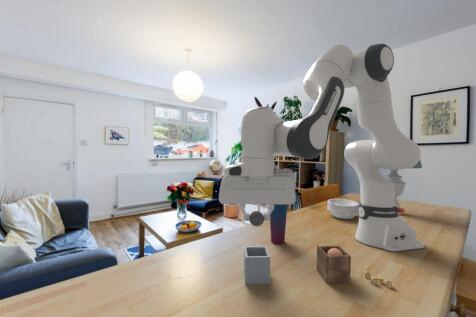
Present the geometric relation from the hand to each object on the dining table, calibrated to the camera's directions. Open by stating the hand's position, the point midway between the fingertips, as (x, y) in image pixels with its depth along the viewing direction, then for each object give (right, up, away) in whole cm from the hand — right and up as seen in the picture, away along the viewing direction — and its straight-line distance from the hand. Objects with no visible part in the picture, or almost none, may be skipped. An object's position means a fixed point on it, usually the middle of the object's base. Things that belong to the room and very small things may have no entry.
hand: (256, 220), depth 60 cm
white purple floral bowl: (+50, -14, +57) cm, 77 cm away
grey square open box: (0, -16, +1) cm, 16 cm away
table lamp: (+82, -14, +66) cm, 106 cm away
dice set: (+32, -17, -1) cm, 36 cm away
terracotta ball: (+21, -11, +2) cm, 24 cm away
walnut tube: (+21, -16, +1) cm, 27 cm away
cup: (+10, -15, +25) cm, 31 cm away
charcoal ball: (0, -2, 0) cm, 2 cm away
